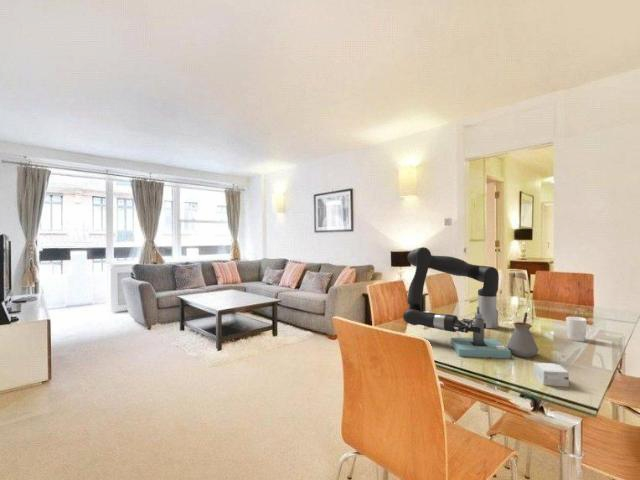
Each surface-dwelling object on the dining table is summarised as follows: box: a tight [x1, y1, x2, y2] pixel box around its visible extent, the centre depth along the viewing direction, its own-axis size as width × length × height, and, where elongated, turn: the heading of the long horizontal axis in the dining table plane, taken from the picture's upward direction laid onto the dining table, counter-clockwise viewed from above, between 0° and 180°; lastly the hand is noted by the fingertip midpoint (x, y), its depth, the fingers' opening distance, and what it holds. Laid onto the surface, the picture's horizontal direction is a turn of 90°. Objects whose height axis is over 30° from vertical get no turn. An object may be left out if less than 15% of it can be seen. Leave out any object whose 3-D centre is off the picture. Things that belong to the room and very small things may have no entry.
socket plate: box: [450, 337, 512, 359], centre depth 147 cm, size 20×16×4 cm
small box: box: [533, 362, 570, 387], centre depth 116 cm, size 8×8×5 cm
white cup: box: [565, 316, 588, 342], centre depth 160 cm, size 8×8×10 cm
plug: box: [472, 306, 485, 346], centre depth 147 cm, size 4×4×19 cm
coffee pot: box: [506, 312, 539, 358], centre depth 146 cm, size 21×12×15 cm, turn 142°
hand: (483, 328), depth 146 cm, fingers open, 8 cm apart
